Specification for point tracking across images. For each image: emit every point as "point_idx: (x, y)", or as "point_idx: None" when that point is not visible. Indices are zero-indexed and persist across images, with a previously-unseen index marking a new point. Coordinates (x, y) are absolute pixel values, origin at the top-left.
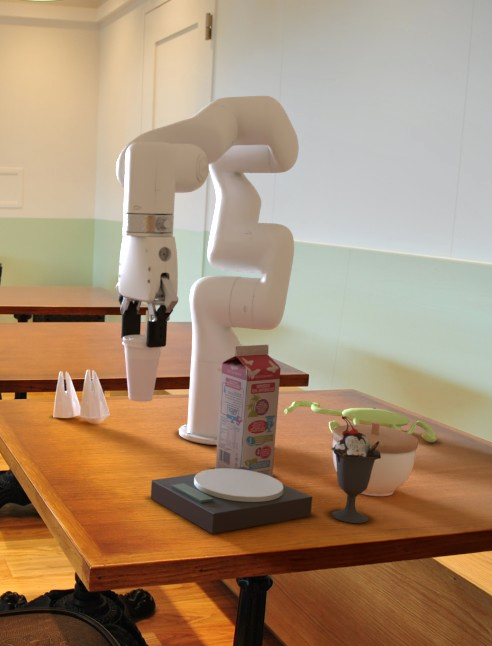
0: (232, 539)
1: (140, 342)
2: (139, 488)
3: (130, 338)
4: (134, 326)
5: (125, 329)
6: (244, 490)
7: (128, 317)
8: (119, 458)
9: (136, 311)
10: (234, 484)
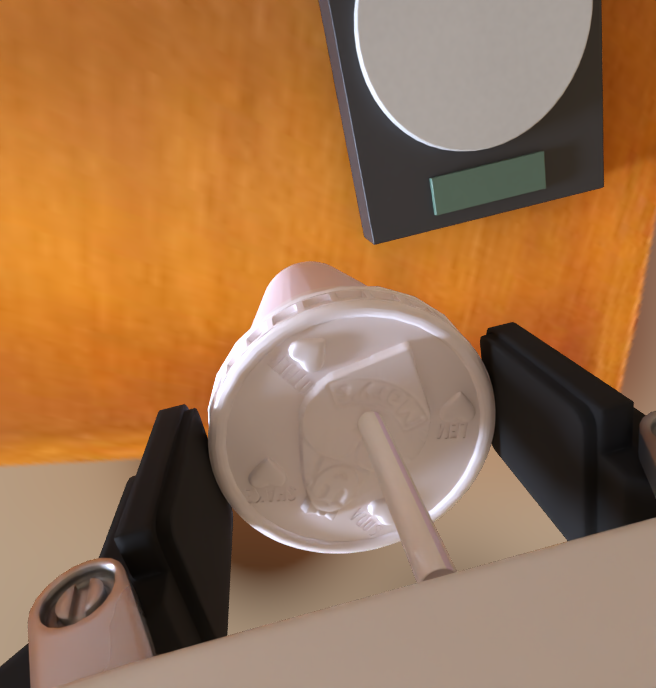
0: (608, 153)
1: (468, 482)
2: (292, 238)
3: (341, 513)
4: (204, 506)
5: (229, 556)
6: (541, 42)
7: (214, 620)
8: (35, 207)
9: (167, 600)
10: (494, 45)
